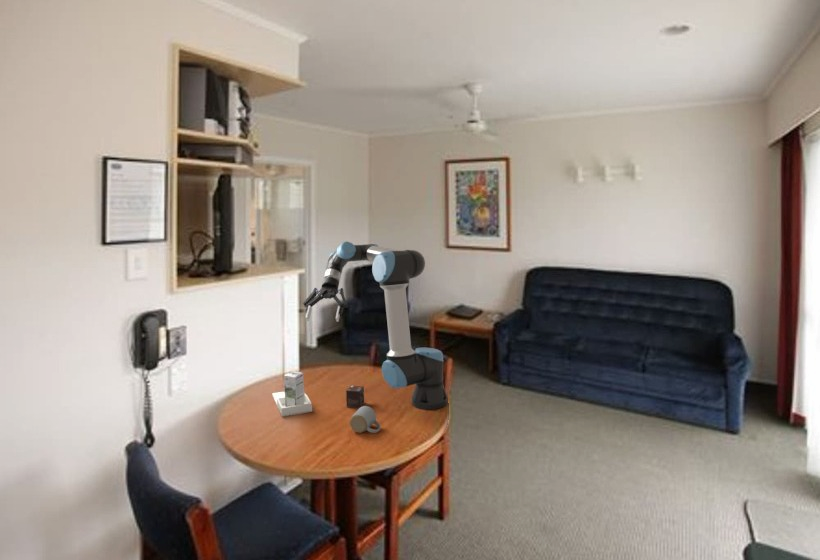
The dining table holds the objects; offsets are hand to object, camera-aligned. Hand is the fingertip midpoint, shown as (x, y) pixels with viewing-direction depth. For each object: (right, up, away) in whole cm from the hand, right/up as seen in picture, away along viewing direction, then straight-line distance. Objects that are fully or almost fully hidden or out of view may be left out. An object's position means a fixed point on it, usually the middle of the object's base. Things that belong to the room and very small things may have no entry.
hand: (321, 319), depth 211 cm
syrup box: (-9, -35, -12) cm, 38 cm away
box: (+16, -35, -9) cm, 40 cm away
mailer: (-12, -35, -6) cm, 37 cm away
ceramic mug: (+22, -38, -32) cm, 55 cm away
